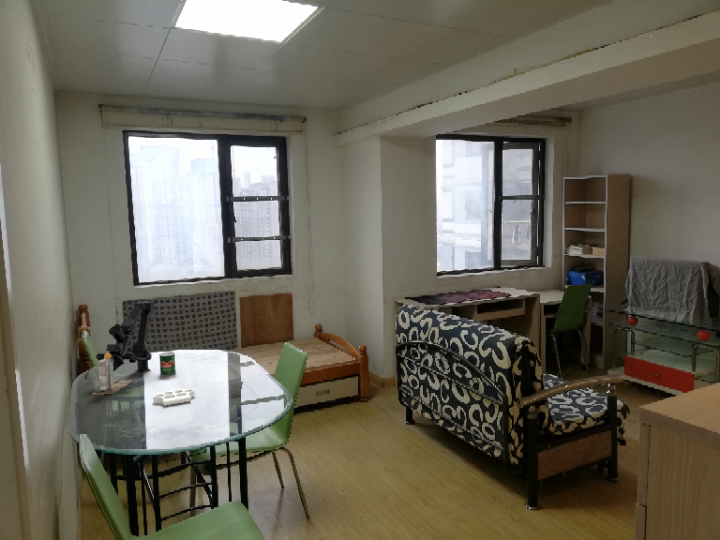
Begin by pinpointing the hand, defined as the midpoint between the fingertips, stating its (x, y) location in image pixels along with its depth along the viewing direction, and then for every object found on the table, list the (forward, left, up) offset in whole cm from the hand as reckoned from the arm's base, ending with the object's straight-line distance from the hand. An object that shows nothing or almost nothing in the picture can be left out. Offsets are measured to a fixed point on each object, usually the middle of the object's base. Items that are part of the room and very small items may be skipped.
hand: (110, 372), depth 259 cm
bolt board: (-1, +1, -8) cm, 8 cm away
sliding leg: (+1, -2, -7) cm, 7 cm away
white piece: (+38, +19, -9) cm, 44 cm away
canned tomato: (-9, +30, -8) cm, 32 cm away
